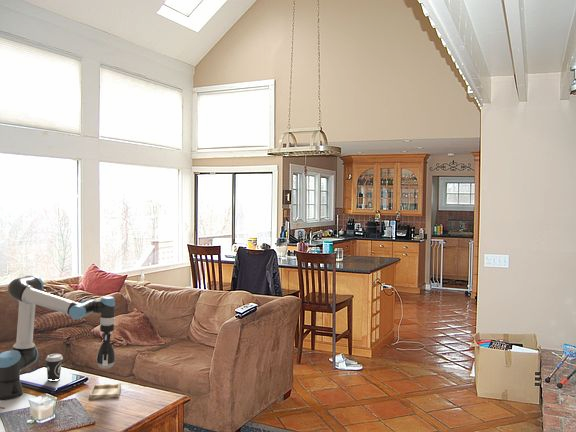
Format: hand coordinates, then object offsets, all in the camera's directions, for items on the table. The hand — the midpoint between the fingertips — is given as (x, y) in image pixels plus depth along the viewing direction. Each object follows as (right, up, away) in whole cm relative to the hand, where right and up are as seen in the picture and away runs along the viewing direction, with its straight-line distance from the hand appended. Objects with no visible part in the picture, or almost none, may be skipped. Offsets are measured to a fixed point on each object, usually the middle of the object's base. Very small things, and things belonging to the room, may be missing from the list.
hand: (106, 362), depth 296 cm
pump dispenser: (0, -3, 0) cm, 3 cm away
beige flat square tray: (-1, -18, +1) cm, 18 cm away
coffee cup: (-38, -16, +17) cm, 44 cm away
